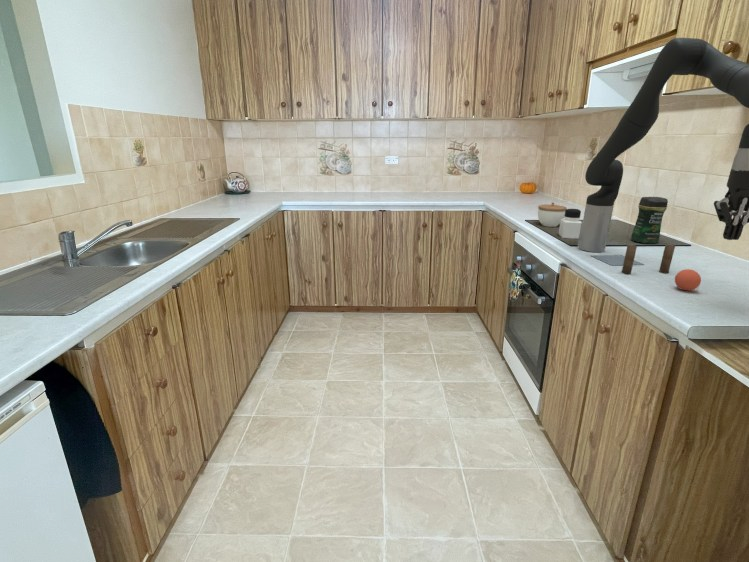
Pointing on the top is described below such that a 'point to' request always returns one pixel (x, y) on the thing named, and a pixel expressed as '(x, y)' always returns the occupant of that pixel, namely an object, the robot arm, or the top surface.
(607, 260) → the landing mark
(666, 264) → the post
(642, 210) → the coffee jar
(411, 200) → the top surface
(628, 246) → the post
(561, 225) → the medicine bottle
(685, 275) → the ball
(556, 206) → the white lidded pot
